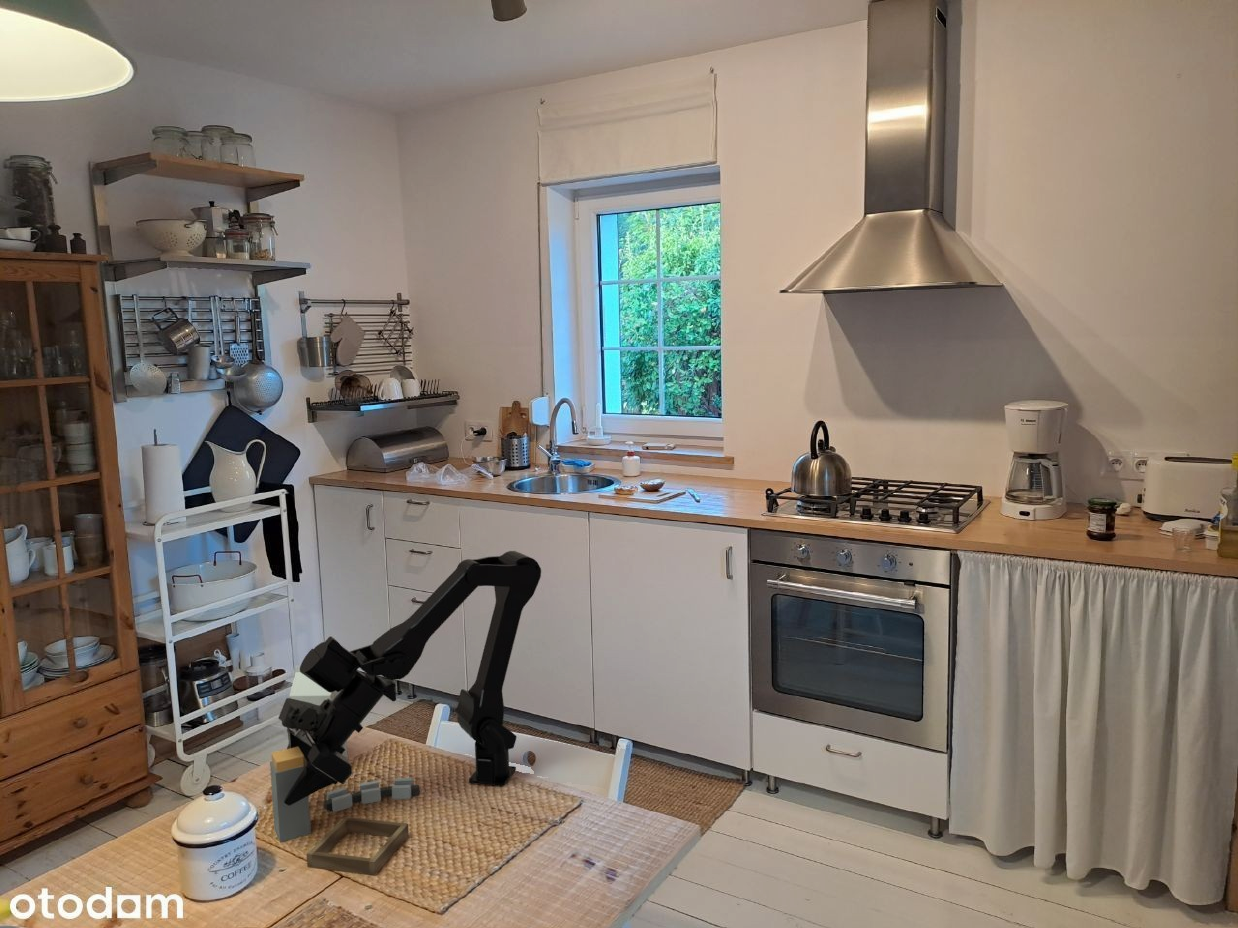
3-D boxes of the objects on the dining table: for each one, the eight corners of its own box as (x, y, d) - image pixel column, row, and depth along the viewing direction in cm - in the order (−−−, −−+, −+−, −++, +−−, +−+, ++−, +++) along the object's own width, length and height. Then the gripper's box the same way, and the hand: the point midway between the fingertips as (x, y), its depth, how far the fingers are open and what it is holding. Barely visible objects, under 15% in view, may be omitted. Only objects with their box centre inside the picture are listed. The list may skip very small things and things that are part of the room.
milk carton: (335, 778, 156) (329, 672, 153) (294, 778, 156) (287, 673, 154) (348, 759, 163) (342, 658, 161) (309, 760, 163) (302, 658, 161)
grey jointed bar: (323, 801, 148) (323, 789, 147) (417, 784, 153) (416, 773, 153) (324, 814, 144) (324, 802, 143) (421, 796, 149) (420, 785, 148)
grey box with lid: (304, 820, 142) (299, 745, 140) (310, 833, 138) (306, 756, 136) (274, 829, 139) (269, 752, 138) (280, 842, 135) (274, 763, 134)
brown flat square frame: (345, 828, 139) (344, 816, 139) (408, 835, 137) (408, 823, 136) (307, 866, 129) (306, 853, 129) (375, 875, 126) (374, 861, 126)
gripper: (297, 662, 146) (228, 743, 141) (325, 699, 130) (248, 791, 125) (349, 698, 151) (283, 778, 146) (381, 738, 135) (309, 828, 130)
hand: (280, 792), depth 137 cm, fingers open, 8 cm apart
